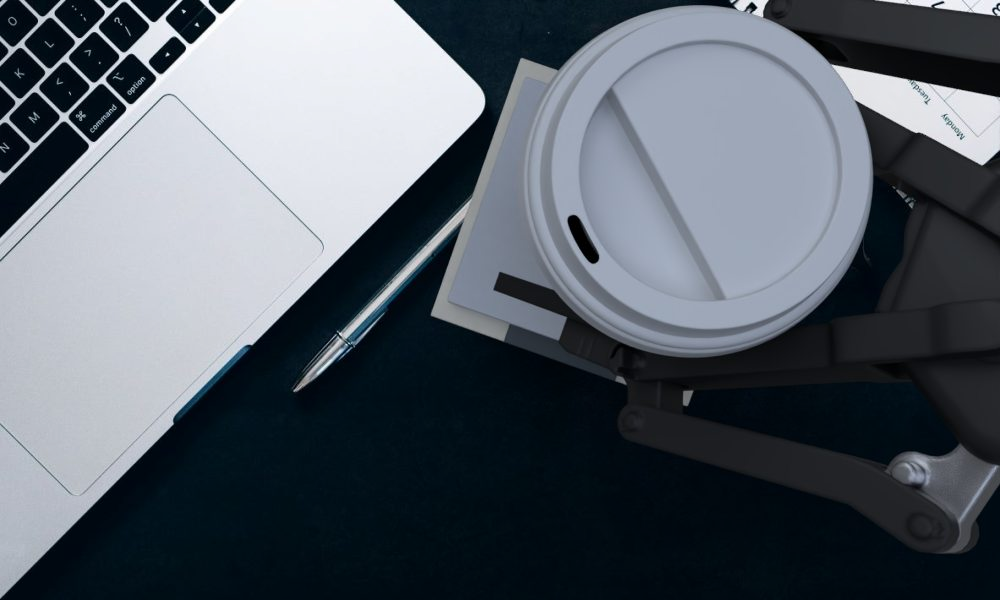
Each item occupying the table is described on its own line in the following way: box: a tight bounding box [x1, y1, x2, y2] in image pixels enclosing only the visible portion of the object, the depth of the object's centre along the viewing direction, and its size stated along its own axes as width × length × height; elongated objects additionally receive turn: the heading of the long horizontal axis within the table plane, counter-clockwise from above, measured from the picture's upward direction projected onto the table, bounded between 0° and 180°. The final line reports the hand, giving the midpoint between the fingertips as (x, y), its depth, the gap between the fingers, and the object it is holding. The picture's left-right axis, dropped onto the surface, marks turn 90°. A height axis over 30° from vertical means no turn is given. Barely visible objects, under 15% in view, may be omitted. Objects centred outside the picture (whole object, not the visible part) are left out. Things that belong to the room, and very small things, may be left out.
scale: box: [430, 57, 694, 407], centre depth 42 cm, size 14×14×3 cm
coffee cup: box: [518, 4, 874, 357], centre depth 28 cm, size 10×10×15 cm
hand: (555, 190), depth 32 cm, fingers closed on coffee cup, 7 cm apart
